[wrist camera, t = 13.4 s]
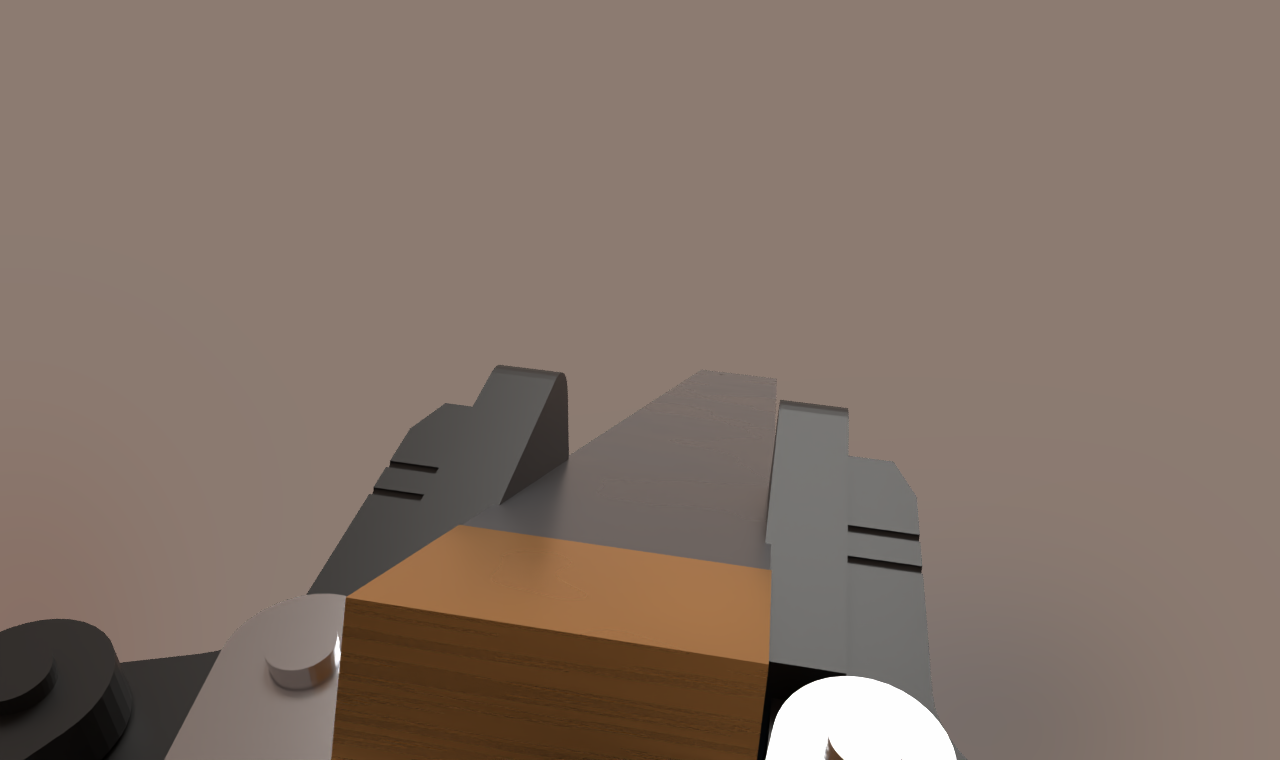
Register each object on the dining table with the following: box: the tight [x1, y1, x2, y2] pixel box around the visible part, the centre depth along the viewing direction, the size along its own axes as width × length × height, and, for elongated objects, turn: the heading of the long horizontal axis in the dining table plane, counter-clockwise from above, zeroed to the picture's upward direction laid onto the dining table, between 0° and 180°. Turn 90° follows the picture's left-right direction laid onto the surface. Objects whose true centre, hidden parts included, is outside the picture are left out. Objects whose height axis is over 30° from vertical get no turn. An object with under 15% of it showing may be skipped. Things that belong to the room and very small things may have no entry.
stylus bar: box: [331, 370, 777, 760], centre depth 18 cm, size 26×2×2 cm, turn 172°
